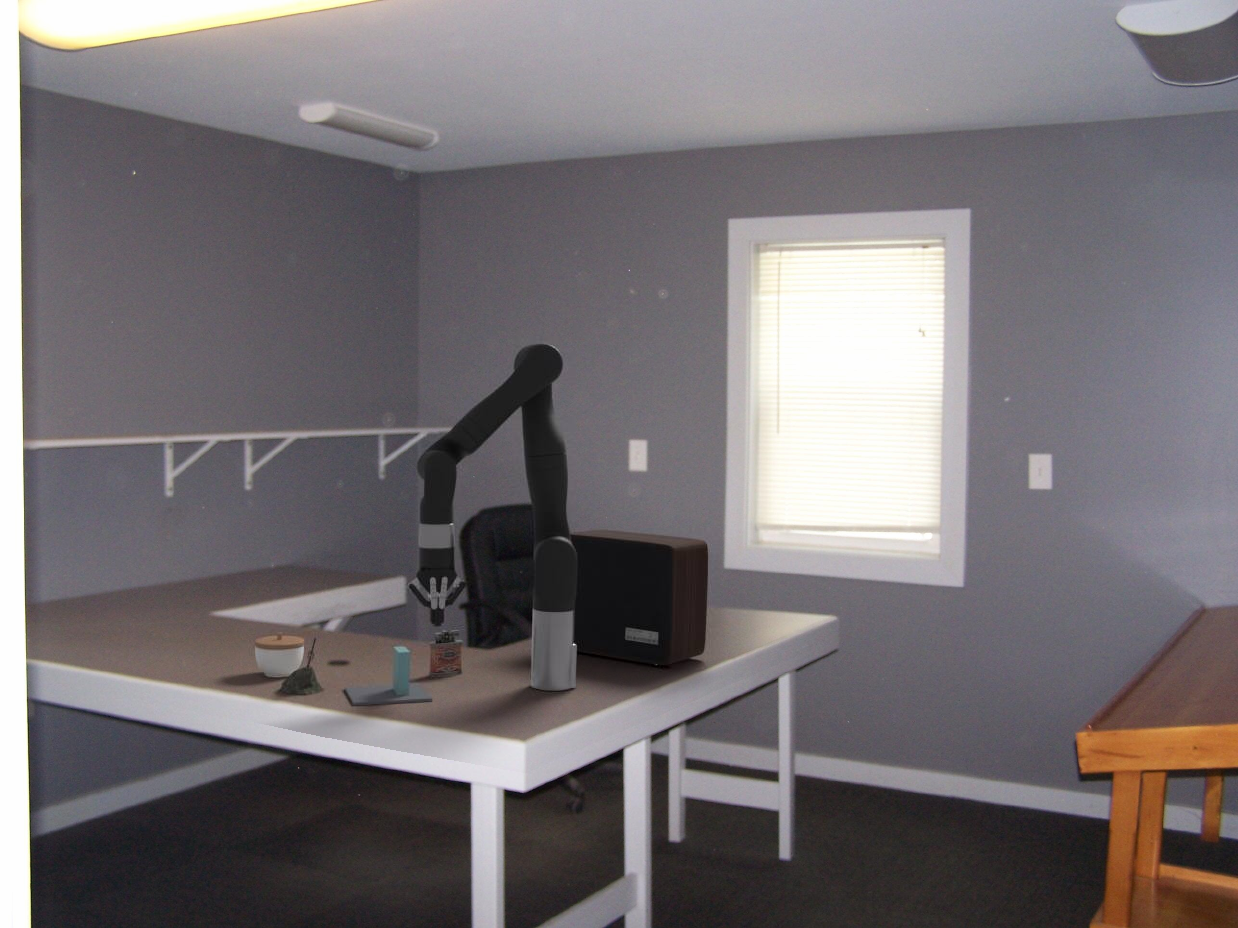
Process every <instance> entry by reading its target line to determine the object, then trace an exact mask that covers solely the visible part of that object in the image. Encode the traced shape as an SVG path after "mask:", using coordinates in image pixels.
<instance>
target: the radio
mask: <svg viewBox="0 0 1238 928" xmlns="http://www.w3.org/2000/svg"><path fill="white" fill-rule="evenodd" d="M569 533H570V538H571V542H572V545H573V546H574V548H575V550H576V553H577V587H576V599H575V619H574V644H576V645H577V652H579V653H585V654H591V655H596V656H602V657H609V658H613V659H618V660H626V661H632V662H637V663H638V662H639V663H644V664H652V665H655V664H657V665H658V666H668V665H673V664H675V663H679V662H681V661H685V660H688V659H691V658H694V657H697V656H701V655H703V654H704V652H705V649H706V638H707V637H706V634H707V614H708V613H707V612H708V580H709V549H708V543H707V542H706V541H704V540H703V539H697V538H689V537H683V536H682V537H681V536H674V535H664V534H652V533H643V532H642V533H641V532H631V531H630V532H629V531H619V530H610V529H609V530H608V529H591V530H583V531H582V530H581V531H573V532H569Z"/></svg>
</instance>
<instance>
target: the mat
mask: <svg viewBox="0 0 1238 928" xmlns="http://www.w3.org/2000/svg"><path fill="white" fill-rule="evenodd" d="M344 691H345V693H346V695H347V696H348V698H349V700H350V702H351V704H352V705H353V706H354V707H356V706H371V705H373V706H374V704H375V705H390V704H405V703H406V704H407V703H408V704H409V703H425V702H426V703H427V702H433V698H432V697H431V695H430V694H429V693H428V692H427V691H426V689H425V688H424V687H423V686H422V684H421V683H420V682H419V683H417V682H416V683H409V695H397V694H396V692H395V691H394V690H393V684H379V685H362V686H361V685H360V686H359V685H357V686H356V685H355V686H346V687H344Z"/></svg>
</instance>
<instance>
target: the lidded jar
mask: <svg viewBox="0 0 1238 928" xmlns="http://www.w3.org/2000/svg"><path fill="white" fill-rule="evenodd" d="M304 647H305V639H304V638H303V637H300V636H294V635H283V632H277V635H272V636H270V635H269V636H264V637H260V638H257V639H255V640H254V648H255V649H254V654H255V655H254V656H255V661H256V664H257V666H258V668H259V669H260V671H261V672H262V673H264V675H265V677H268V678H288V677H289V676H290V675H291V674H292V673H293V672H294V671H296V670H298V669H300V666H301V664H302V662H303V658H304V654H305V653H304V651H305V648H304Z"/></svg>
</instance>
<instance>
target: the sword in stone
mask: <svg viewBox="0 0 1238 928" xmlns="http://www.w3.org/2000/svg"><path fill="white" fill-rule="evenodd" d="M316 640H317V638H316V637H314V638H313V643H312V646H311V649H310V650H308V652H307V660H308V661H307V665H306V666H304V667H303V666H302V667H301V668H298V669H297V670H296V671H294V672H293V673H292V674H291V675H290V676H288V677H286V678H285V679H284V680H283V682H281V687H280V692H282V693H284V694H287V695H296V696H307V697H308V696H311V695H317V694H319V693H322V692H323V691H325V689H324V688H323V687H322V685H321V684H320V683H319V682H318V680H317V677H316V674H315V673H316V672H315V669H314V668H313V666H311V663H313V659H314V656H315V653H314V649H315V648H314V647H315V644H316Z"/></svg>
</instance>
